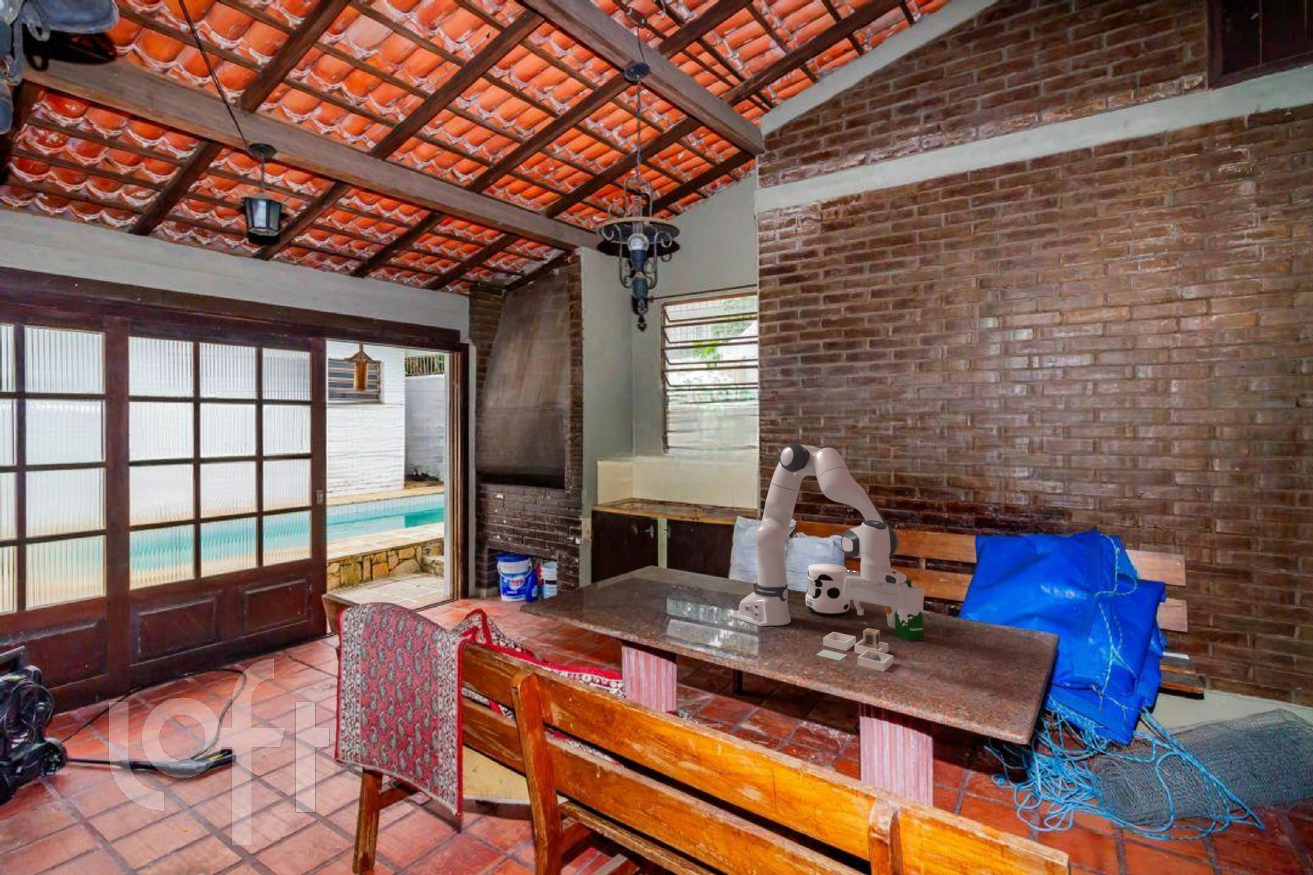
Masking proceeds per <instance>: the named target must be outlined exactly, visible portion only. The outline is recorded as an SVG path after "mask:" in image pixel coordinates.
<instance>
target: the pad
mask: <svg viewBox="0 0 1313 875" xmlns="http://www.w3.org/2000/svg"><path fill="white" fill-rule="evenodd" d="M815 655H816V656H818V657H823V658H827V659H831V660H835V661H842V660H843V659H844V658H846V657H848V654H844V653H840V652H837V651H832V650H827V649H822V650H821V651H819V652H818V653H816V654H815Z"/></svg>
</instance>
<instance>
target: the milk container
mask: <svg viewBox="0 0 1313 875" xmlns="http://www.w3.org/2000/svg"><path fill="white" fill-rule="evenodd" d="M845 571H848V568H847V567H845V565H841V564H835V563H834V564H833V563H814V564H810V565H808V569H807V590H806V594H805V605H806V608H807V609H808V610H809V611H811V612H812V613H816V614H819V615H826V616H836V615H837V616H838V615H842V614H845V613H847V612H848V611H849V609H850V605H851V600H849V599H845V598H844V597H843V585H844V580H843V574H844V572H845ZM846 573H847V572H846Z"/></svg>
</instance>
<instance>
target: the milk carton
mask: <svg viewBox="0 0 1313 875" xmlns="http://www.w3.org/2000/svg"><path fill="white" fill-rule="evenodd" d="M905 583H906V584H907V585H908V588H909V593H910V605H909V606H908V607H907V608H905V609H901V608H898V610H897V612H896V613H895V628H894V636H895V637H896V638H899V639H903V640H906V642H911V641H915V642H918V641H919V642H920V641H925V630H924V629H925V628H924V598H925V595H926V589H925V588H923V587H920V586H918V585H916V584H913V583H912V580H911V579H906V581H905ZM912 584H913V585H912ZM915 585H916V586H915Z"/></svg>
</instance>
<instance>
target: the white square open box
mask: <svg viewBox="0 0 1313 875" xmlns="http://www.w3.org/2000/svg"><path fill="white" fill-rule="evenodd" d="M874 654H876V655H878V656H879V657H880V659H881V661H875V660H871V659H870V658H871V656H872V655H874ZM893 664H894V655H892V654H888V653H885V654H884V653H880V652H875V651H871V650H866V651H865V652H864V653H862V654H859V655H858V656H857V666H860V667H864V668H866V669H872V670H876V671H880V672H885V671H887V670H888V669H889V668H890V667H891V666H893Z"/></svg>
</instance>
